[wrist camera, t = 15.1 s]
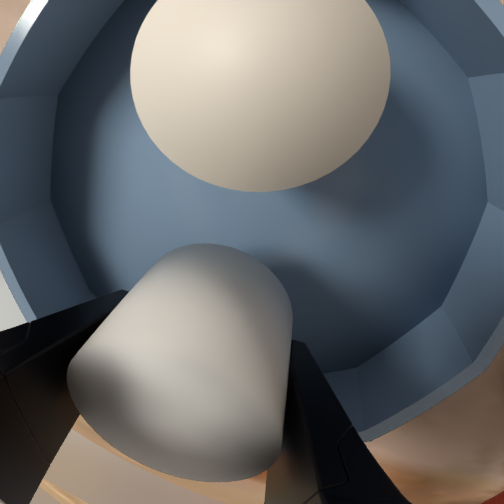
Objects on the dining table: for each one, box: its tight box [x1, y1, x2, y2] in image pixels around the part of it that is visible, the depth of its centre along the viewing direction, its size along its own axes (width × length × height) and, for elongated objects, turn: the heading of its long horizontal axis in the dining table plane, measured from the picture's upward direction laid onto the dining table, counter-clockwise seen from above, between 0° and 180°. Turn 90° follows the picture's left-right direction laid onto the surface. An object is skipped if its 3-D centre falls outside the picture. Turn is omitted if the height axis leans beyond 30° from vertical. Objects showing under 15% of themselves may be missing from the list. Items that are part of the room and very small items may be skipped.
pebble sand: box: [130, 0, 391, 192], centre depth 7 cm, size 5×5×4 cm
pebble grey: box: [67, 243, 293, 482], centre depth 8 cm, size 5×5×4 cm
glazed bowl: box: [0, 0, 504, 442], centre depth 9 cm, size 18×18×4 cm
